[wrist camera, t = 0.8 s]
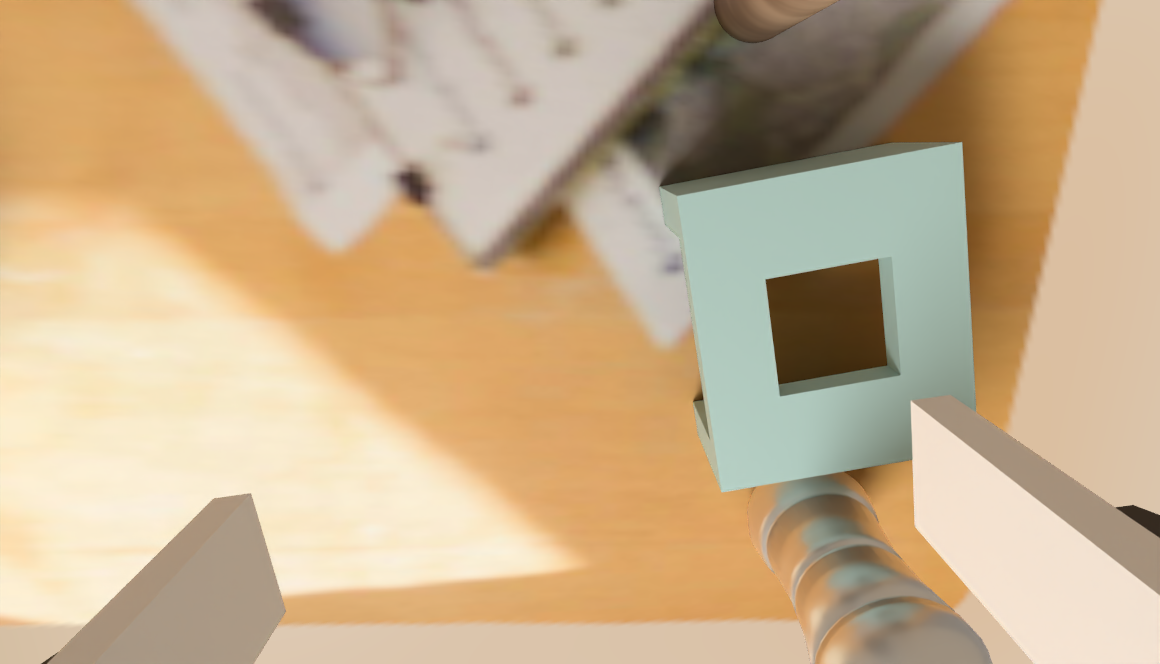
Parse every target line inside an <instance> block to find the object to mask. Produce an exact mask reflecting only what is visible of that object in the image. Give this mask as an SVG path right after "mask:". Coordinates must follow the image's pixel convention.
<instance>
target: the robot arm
mask: <svg viewBox="0 0 1160 664" xmlns="http://www.w3.org/2000/svg"><path fill="white" fill-rule="evenodd" d="M911 428H912V457H913V487H914V517H915V527H916V529H917V530H918V531H919V532H920V533H921V534H922V535H923V537H924V538H925V539H926V540H927V541H928V542H929V543H930V545H931V546H932V547H933V548H934V549H935V550H936V551H937V553H938V554H939V555H940V556H941V557H942V558H943V559H944V561H945V562H946V563H947V564H948V565H949V566H950V568H951V569H952V570H953V571H954V572H955V573H956V574H957V576H958V577H959V578H960V579H961V580H962V581H963V582H964V584H965V585H966V586H967V587H968V588H969V589H970V590H971V592H972V593H973V594H974V595H975V596H976V597H977V598H978V599H979V601H980V602H981V603H982V604H983V605H984V606H985V608H986V609H987V610H988V611H989V612H990V613H991V614H992V616H993V617H994V618H995V619H996V620H997V621H998V622H999V623H1000V625H1001V626H1002V627H1003V628H1004V629H1005V630H1006V632H1007V633H1008V634H1009V635H1010V636H1011V637H1012V638H1013V640H1014V641H1015V642H1016V643H1017V644H1018V645H1019V647H1020V648H1021V649H1022V650H1023V651H1024V652H1025V653H1026V655H1027V656H1028V657H1029V658H1030V659H1031V660H1032V661H1033V663H1034V664H1160V515H1158V514H1155V513H1152V512H1150V511H1147V510H1145V509H1142V508H1139V507H1137V506H1134V505H1131V506H1123V507H1116V508H1115V507H1113V506H1112V505H1111V504H1109V503H1108V502H1106V501H1105V500H1103V499H1102V498H1100V497H1099V496H1097V495H1096V494H1095V493H1093V492H1092V491H1090V490H1089V489H1087V488H1086V487H1084V486H1083V485H1081V484H1080V483H1078V482H1077V481H1076V480H1074V479H1073V478H1071V477H1070V476H1068V475H1067V474H1065V473H1064V472H1062V471H1061V470H1059V469H1058V468H1057V467H1055V466H1054V465H1052V464H1051V463H1049V462H1048V461H1046V460H1045V459H1043V458H1042V457H1040V456H1039V455H1038V454H1036V453H1035V452H1033V451H1032V450H1030V449H1029V448H1027V447H1026V446H1024V445H1023V444H1021V443H1020V442H1019V441H1017V440H1016V439H1014V438H1013V437H1011V436H1010V435H1008V434H1007V433H1005V432H1004V431H1003V430H1001V429H1000V428H998V427H997V426H995V425H994V424H992V423H991V422H989V421H988V420H986V419H985V418H984V417H982V416H981V415H979V414H978V413H976V412H975V411H973V410H972V409H970V408H969V407H967V406H966V405H965V404H963V403H962V402H960V401H959V400H957V399H956V398H954V397H953V396H951V395H946V396H939V397H932V398H924V399H917V400H911ZM285 612H286V610H285V607H284V603H283V600H282V597H281V593H280V590H279V586H278V583H277V580H276V576H275V573H274V570H273V566H272V563H271V559H270V556H269V553H268V549H267V546H266V543H265V539H264V536H263V532H262V529H261V526H260V522H259V519H258V516H257V512H256V509H255V505H254V502H253V499H252V495H251V493H250V494H243V495H236V496H229V497H222V498H215V499H213V500H212V501H211V502H210V503H209V504H208V505H207V506H206V507H205V508H204V509H203V510H202V511H201V512H200V513H199V514H198V515H197V516H196V517H195V518H194V519H193V520H192V521H191V522H190V523H189V524H188V525H187V526H186V527H185V528H184V529H183V530H182V531H181V532H180V533H178V534H177V535H176V536H175V537H174V538H173V539H172V540H171V541H170V542H169V543H168V544H167V545H166V546H165V547H164V548H163V549H162V550H161V551H160V552H159V553H158V554H157V555H156V556H155V557H154V558H153V559H152V560H151V561H150V562H149V563H148V564H147V565H146V566H145V567H144V568H143V569H142V570H141V571H140V572H139V573H138V574H137V575H136V576H135V577H134V578H133V579H132V580H131V581H130V582H129V583H128V584H127V585H126V586H125V587H124V588H123V589H122V590H121V591H120V592H119V593H118V594H117V595H116V596H115V597H114V598H113V599H112V600H111V601H110V602H109V603H108V604H107V605H106V606H105V607H104V608H103V609H102V610H101V611H100V612H99V613H98V614H97V615H96V616H95V617H94V618H93V619H92V620H91V621H90V622H89V623H87V624H86V625H85V626H84V627H83V628H82V629H81V630H80V631H79V632H78V633H77V634H76V635H75V636H74V637H73V638H72V639H71V640H70V641H69V642H68V643H67V644H66V645H65V646H64V647H63V648H62V649H61V650H60V651H59V652H58V653H56V654H55V655H53V656H52V657H50V658H49V659H48V660H46V661H45V662H43V663H42V664H254V662H255V661H256V659H257V657H258V656H259V654H260V653H261V651H262V649H263V648H264V646H265V644H266V643H267V641H268V640H269V638H270V636H271V635H272V633H273V632H274V630H275V628H276V627H277V625H278V623H279V622H280V620H281V619H282V617H283V615H284V614H285Z"/></svg>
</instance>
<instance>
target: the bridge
mask: <svg viewBox="0 0 1160 664" xmlns="http://www.w3.org/2000/svg"><path fill="white" fill-rule="evenodd" d="M659 189H660V196H661V202H662V208H663V215H664V221H665V225H666V226H667V227H668V228H669V229H670V230H671V231H672V232H673V233H674V234H675V235H676V236H677V237H679V240H680V247H681V253H682V260H683V266H684V273H685V279H686V286H687V292H688V299H689V306H690V312H691V319H692V325H693V332H694V338H695V345H696V351H697V358H698V364H699V371H700V377H701V384H702V391H703V397H704V400H700V401H694V402H693V406H694V412H695V418H696V425H697V431H698V436H699V438H700V441H701V443H702V445H703V448H704V450H705V453H706V455H707V458H708V460H709V463H710V465H711V467H712V470H713V472H714V475H715V477H716V480H717V482H718V484H719V487H720V489H721V492H726V491H732V490H738V489H744V488H750V487H756V486H762V485H767V484H773V483H779V482H785V481H791V480H797V479H803V478H809V477H815V476H820V475H826V474H832V473H838V472H844V471H850V470H856V469H862V468H867V467H873V466H879V465H885V464H891V463H897V462H903V461H909V460H913V457H912V428H911V400H917V399H924V398H932V397H939V396H946V395H951V396H953V397H954V398H956V399H957V400H959V401H960V402H962V403H963V404H965V405H966V406H967V407H969V408H970V409H972V410H973V411H975V412H976V399H975V379H974V360H973V341H972V322H971V303H970V283H969V264H968V245H967V226H966V207H965V188H964V168H963V149H962V142H897V143H886V144H881V145H876V146H871V147H865V148H860V149H855V150H850V151H844V152H839V153H834V154H829V155H823V156H818V157H813V158H808V159H802V160H797V161H792V162H787V163H781V164H776V165H771V166H766V167H760V168H755V169H750V170H745V171H739V172H734V173H729V174H723V175H718V176H713V177H708V178H702V179H697V180H692V181H687V182H681V183H676V184H671V185H666V186H660V187H659ZM874 259H878V260H879V272H880V284H881V296H882V307H883V319H884V331H885V343H886V355H887V366H881V367H876V368H870V369H864V370H859V371H853V372H847V373H842V374H836V375H830V376H824V377H819V378H813V379H807V380H802V381H796V382H790V383H785V384H779V385H778V378H777V369H776V361H775V353H774V345H773V337H772V329H771V321H770V313H769V305H768V297H767V289H766V281H765V279H770V278H776V277H781V276H787V275H792V274H798V273H803V272H808V271H814V270H819V269H825V268H830V267H836V266H841V265H847V264H852V263H858V262H863V261H869V260H874Z"/></svg>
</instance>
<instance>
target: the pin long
mask: <svg viewBox="0 0 1160 664" xmlns="http://www.w3.org/2000/svg"><path fill="white" fill-rule="evenodd" d="M837 1H839V0H714V8H715V13H716V16H717V19H718V21H719V23H720V25H721V26H722V28H723V29H724V30H725V31H726V32H727V33H728V34H729V35H730V36H732V37H733V38H735V39H737V40H740V41H743V42H748V43H757V42H762V41H766V40H768V39H771V38H772V37H774V36H776V35H778V34H780V33H781V32H783V31H785V30H787V29H789V28H790V27H792V26H794V25H796V24H798V23H799V22H801V21H803V20H805V19H807V18H808V17H810V16H812V15H814V14H816V13H817V12H819V11H821V10H823V9H825V8H826V7H828V6H830V5H832V4H834V3H835V2H837Z"/></svg>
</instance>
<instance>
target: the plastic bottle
mask: <svg viewBox="0 0 1160 664" xmlns="http://www.w3.org/2000/svg"><path fill="white" fill-rule="evenodd" d="M747 516H748V526H749V535H750V538H751V541H752V544H753V546H754V547H755V549H756V550H757V552H758V554H759V555H760V556H761V558H762V559H763V561H764V562H765V564H766V565H767V566H768V567H769V568H770V569H771V571H772V572H773V573H774V574H775V575H776V576H777V578H778V579H779V581H780V583H781V584H782V586H783V588H784V589H785V591H786V593H787V594H788V596H789V598H790V599H791V601H792V603H793V606H794V609H795V612H796V614H797V617H798V620H799V623H800V625H801V628H802V631H803V634H804V637H805V641H806V646H807V650H808V655H809V659H810V664H992V661H991V658H990V655H989V652H988V650H987V648H986V646H985V645H984V643H983V641H982V639H981V638H980V637H979V636H978V635H977V634H976V633H975V632H974V631H973V629H972V628H971V627H970V626H969V625H968V624H967V623H966V622H965V621H964V620H963V619H962V617H961V616H960V615H959V614H957V613H956V612H955V611H954V610H953V609H952V608H951V607H950V606H948V605H947V604H946V603H945V602H944V601H943V600H942V599H941V598H940V597H938V596H937V595H936V594H935V593H934V592H933V591H932V590H931V589H929V588H928V587H927V586H926V585H925V584H924V583H923V582H922V581H921V580H920V579H919V578H918V577H917V576H916V575H915V573H914V572H913V571H912V570H911V569H910V568H909V567H908V566H907V565H906V563H905V562H904V561H903V560H902V559H901V557H900V556H899V555H898V554H897V553H896V552H895V551H894V549H893V547H892V546H891V544H890V542H889V540H888V539H887V537H886V535H885V533H884V532H883V530H882V528H881V527H880V525H879V522H878V519H877V515H876V512H875V510H874V507H873V505H872V503H871V501H870V499H869V497H868V496H867V494H866V492H865V490H864V489H863V487H862V486H861V485H860V484H859V483H858V482H857V481H856V480H855V479H853V478H852V477H851V476H849V475H848V474H846V473H845V472H838V473H832V474H826V475H820V476H815V477H809V478H803V479H797V480H791V481H785V482H779V483H773V484H767V485H762V486H756V487H755V489H754V491H753V492H752V494H751V497H750V500H749V503H748V510H747Z"/></svg>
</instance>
